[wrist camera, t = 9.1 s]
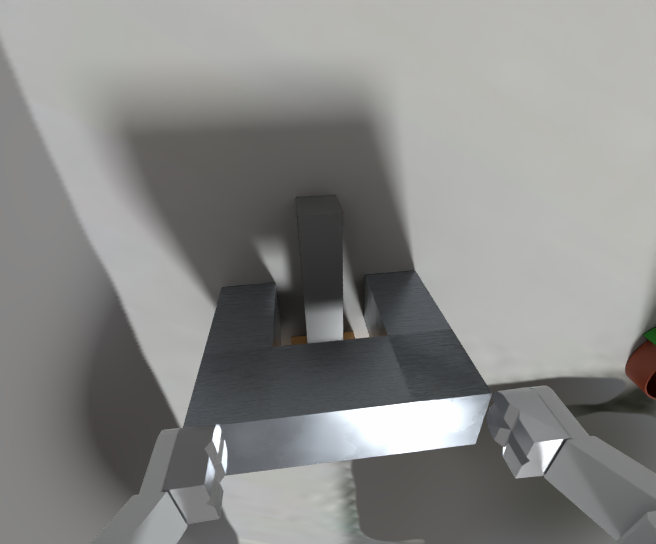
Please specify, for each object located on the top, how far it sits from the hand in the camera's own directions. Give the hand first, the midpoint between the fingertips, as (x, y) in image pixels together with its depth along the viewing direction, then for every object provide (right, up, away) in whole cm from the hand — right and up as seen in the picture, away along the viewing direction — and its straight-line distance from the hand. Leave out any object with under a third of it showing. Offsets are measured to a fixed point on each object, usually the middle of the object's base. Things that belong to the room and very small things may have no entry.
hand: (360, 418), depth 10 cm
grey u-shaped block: (-1, +2, +16) cm, 16 cm away
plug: (-1, +2, +16) cm, 16 cm away
